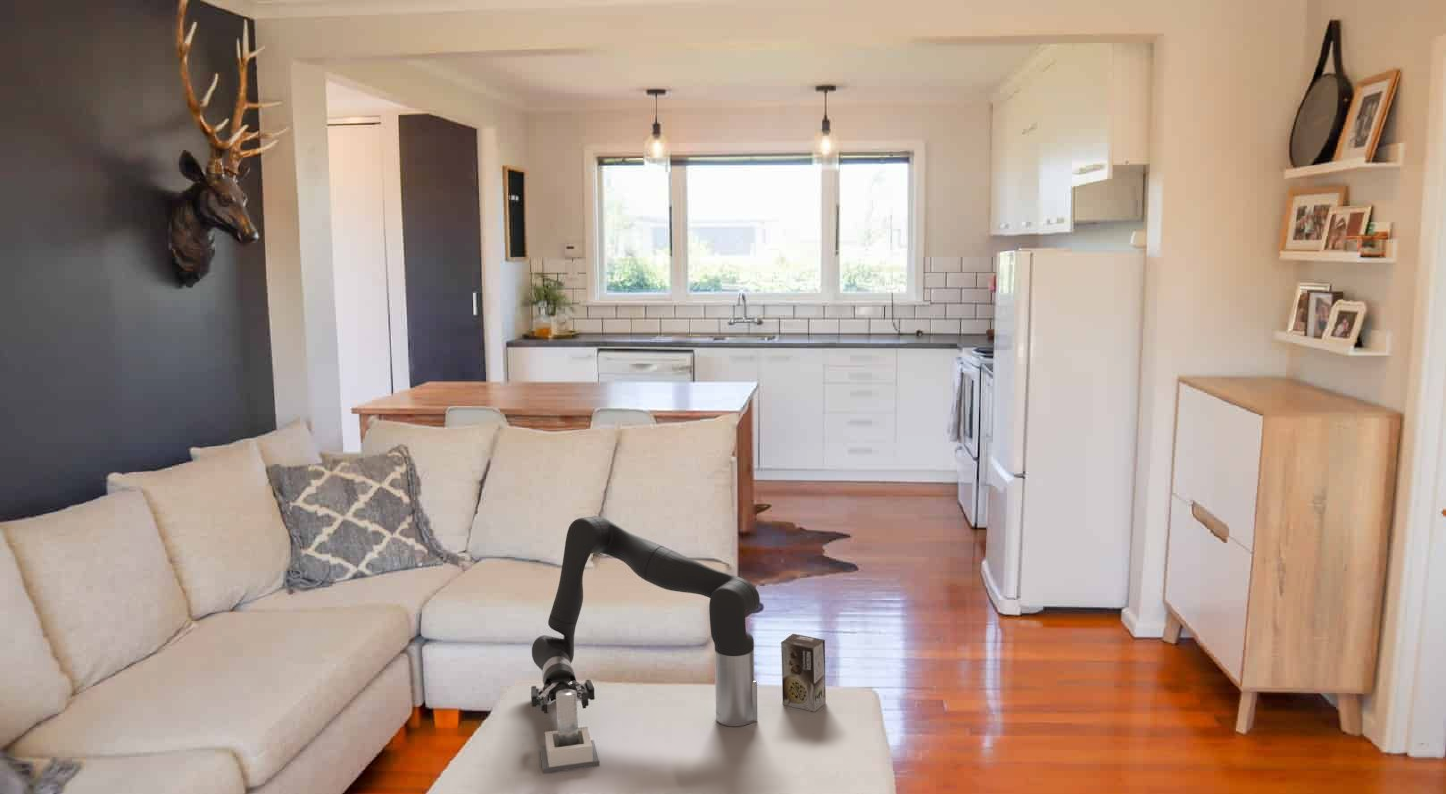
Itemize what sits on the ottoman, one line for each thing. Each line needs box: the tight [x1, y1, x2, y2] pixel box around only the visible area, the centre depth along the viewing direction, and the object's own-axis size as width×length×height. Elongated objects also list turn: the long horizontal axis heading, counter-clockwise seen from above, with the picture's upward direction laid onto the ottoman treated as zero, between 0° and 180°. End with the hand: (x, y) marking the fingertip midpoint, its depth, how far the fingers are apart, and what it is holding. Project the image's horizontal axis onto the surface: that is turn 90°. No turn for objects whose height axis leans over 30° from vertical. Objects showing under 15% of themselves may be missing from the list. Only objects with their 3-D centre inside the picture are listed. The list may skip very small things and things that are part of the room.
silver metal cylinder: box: [555, 689, 579, 747], centre depth 224 cm, size 4×4×14 cm
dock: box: [539, 726, 600, 774], centre depth 225 cm, size 12×10×4 cm
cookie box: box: [780, 633, 827, 712], centre depth 249 cm, size 9×6×16 cm
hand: (565, 706), depth 228 cm, fingers open, 8 cm apart
